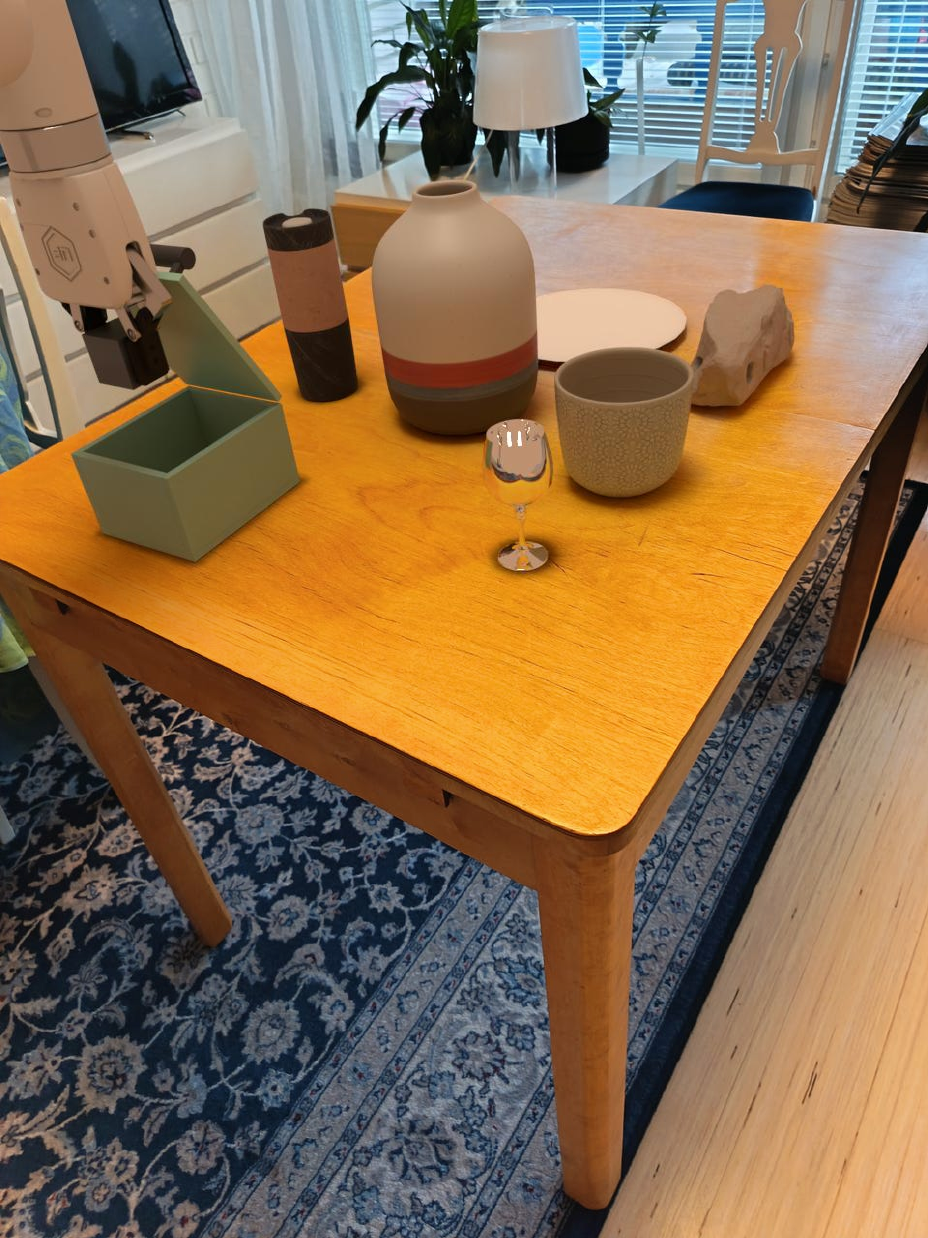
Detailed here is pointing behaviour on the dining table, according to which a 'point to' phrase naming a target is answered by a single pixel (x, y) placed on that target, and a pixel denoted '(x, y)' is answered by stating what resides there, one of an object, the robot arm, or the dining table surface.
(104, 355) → the block
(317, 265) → the travel mug
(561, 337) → the plate
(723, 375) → the decorative stone
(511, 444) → the wineglass
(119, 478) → the cool box
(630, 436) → the planter
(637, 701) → the dining table surface
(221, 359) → the cool box lid
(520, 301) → the vase
